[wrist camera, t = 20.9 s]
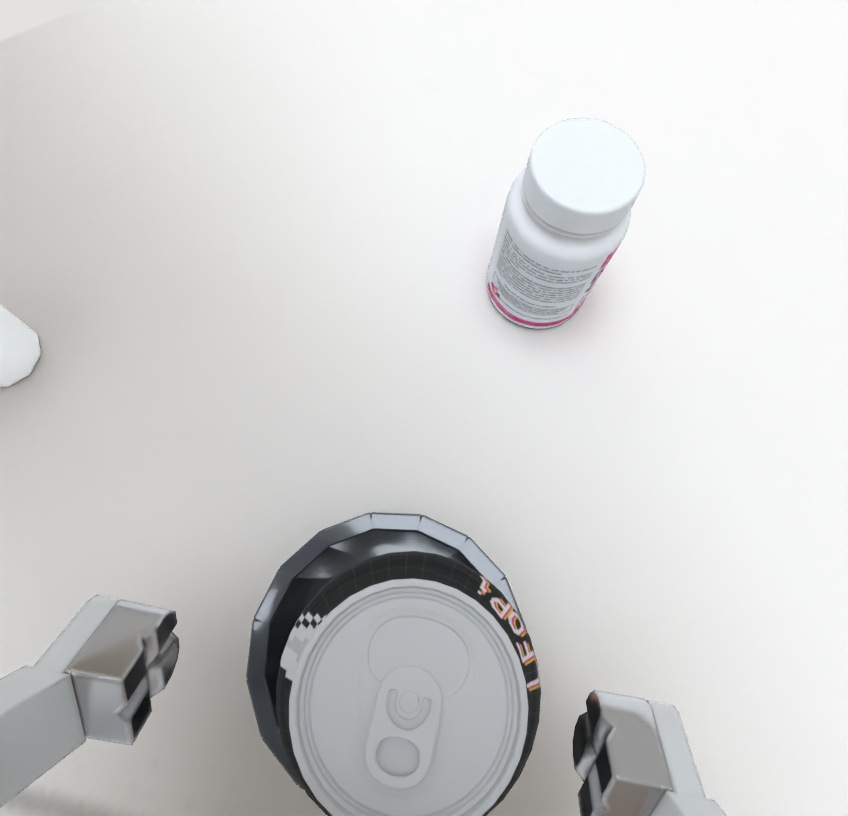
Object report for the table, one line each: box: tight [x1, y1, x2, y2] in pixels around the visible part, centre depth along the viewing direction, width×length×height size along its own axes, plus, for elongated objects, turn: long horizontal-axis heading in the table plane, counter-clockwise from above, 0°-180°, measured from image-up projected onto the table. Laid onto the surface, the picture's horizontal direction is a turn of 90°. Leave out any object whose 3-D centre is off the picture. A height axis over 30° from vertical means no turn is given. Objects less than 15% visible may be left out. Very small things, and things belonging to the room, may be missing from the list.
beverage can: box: [276, 551, 541, 816], centre depth 16 cm, size 6×6×12 cm
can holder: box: [246, 512, 527, 790], centre depth 20 cm, size 9×9×5 cm
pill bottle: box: [487, 118, 645, 329], centre depth 23 cm, size 5×5×8 cm
